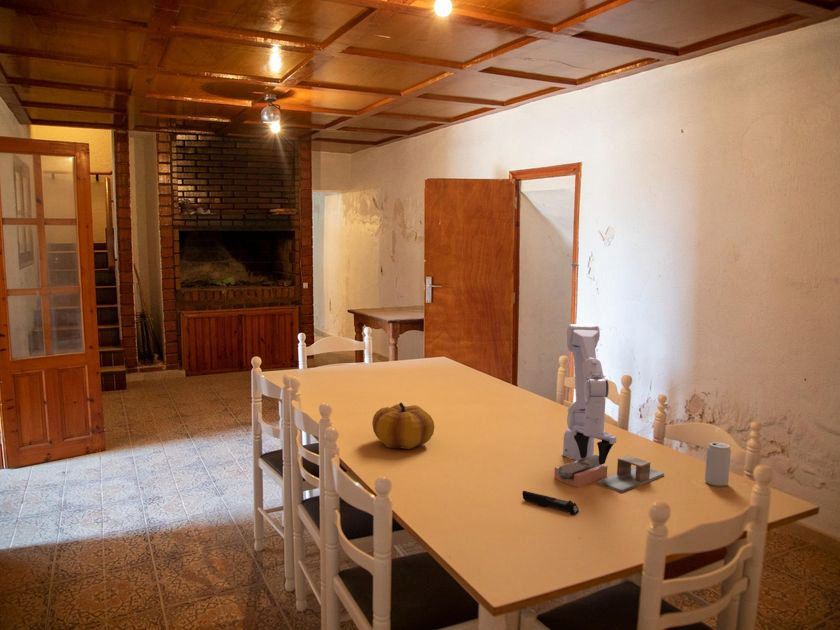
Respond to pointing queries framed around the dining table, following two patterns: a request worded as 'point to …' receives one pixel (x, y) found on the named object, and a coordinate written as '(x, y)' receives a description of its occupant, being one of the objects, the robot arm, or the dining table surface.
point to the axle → (578, 467)
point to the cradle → (584, 475)
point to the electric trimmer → (551, 502)
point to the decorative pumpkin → (403, 426)
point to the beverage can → (717, 464)
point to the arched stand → (630, 474)
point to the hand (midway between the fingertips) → (592, 460)
